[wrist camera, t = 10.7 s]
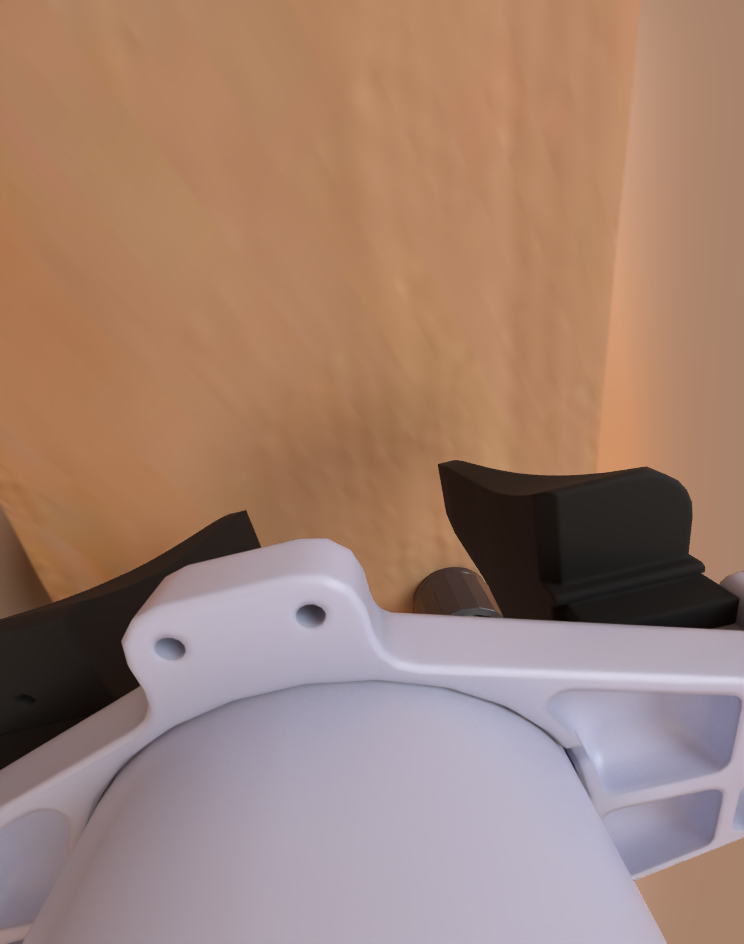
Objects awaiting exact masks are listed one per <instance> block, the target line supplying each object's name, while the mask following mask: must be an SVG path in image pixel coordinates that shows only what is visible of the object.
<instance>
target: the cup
mask: <svg viewBox="0 0 744 944" xmlns="http://www.w3.org/2000/svg"><path fill="white" fill-rule="evenodd" d="M413 606H414V611H415V614H433V615H452V616H468V615H475V614H476V616H478V617H491V618H503V615H502V613H501V611H500V609H499V607H498V605H497V603H496V601H495V599H494V597H493V595H492V593H491V591H490V589H489V588H488V586H487V585H486V583H485V582H484V580H483V579H482V578H481V577H480V576H479V575H478V574H476V573H475V572H473V571H471V570H469V569H465V568H459V567H452V568H445V569H442V570H439V571H437V572H434V573H433V574H431V575H430V576H428V577H427V578H426V579H425V580H423V582H422V583H421V584H420V585H419V587H418V588H417V590H416V592H415V596H414V601H413Z"/></svg>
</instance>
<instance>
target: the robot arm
mask: <svg viewBox="0 0 744 944" xmlns="http://www.w3.org/2000/svg"><path fill="white" fill-rule="evenodd" d="M438 468H439V474H440V480H441V485H442V491H443V497H444V503H445V508H446V514H447V516H448V518H449V521H450V523H451V525H452V527H453V530H454V532H455V534H456V535H457V537H458V539H459V540H460V542H461V543H462V545H463V546H464V548H465V550H466V551H467V553H468V554H469V556H470V557H471V559H472V560H473V562H474V564H475V565H476V567H477V568H478V570H479V571H480V573H481V574H482V576H483V578H484V579H485V581H486V583H487V585H488V586H489V588H490V591H491V593H492V595H493V597H494V599H495V601H496V603H497V605H498V607H499V609H500V611H501V613H502V615H503V618H491V617H472V616H452V615H433V614H414V613H395V612H388V611H386V610H384V609H382V608H380V607H379V606H378V605H377V604H376V603H375V602H374V599H373V597H372V595H371V593H370V590H369V587H368V583H367V580H366V576H365V573H364V569H363V568H362V566H361V565H360V563H359V562H358V560H357V559H356V557H355V556H354V554H353V553H352V551H351V550H350V549H348V548H346V547H344V546H341V545H339V544H337V543H335V542H333V541H331V540H329V539H327V538H313V539H296V540H291V541H287V542H283V543H279V544H275V545H270V546H266V547H262V548H261V546H260V543H259V541H258V538H257V536H256V533H255V531H254V528H253V526H252V523H251V521H250V519H249V516H248V514H247V511H246V510H245V511H241V512H237V513H232V514H229V515H226V516H224V517H222V518H220V519H218V520H217V521H215V522H213V523H212V524H210V525H208V526H207V527H205V528H204V529H202V530H201V531H199V532H198V533H196V534H194V535H193V536H191V537H190V538H188V539H187V540H185V541H183V542H182V543H180V544H178V545H177V546H175V547H174V548H172V549H170V550H169V551H167V552H165V553H164V554H162V555H160V556H158V557H157V558H155V559H153V560H151V561H149V562H148V563H146V564H144V565H142V566H140V567H138V568H136V569H134V570H132V571H130V572H128V573H126V574H123V575H121V576H119V577H117V578H114V579H112V580H110V581H108V582H105V583H103V584H101V585H99V586H96V587H94V588H91V589H89V590H86V591H84V592H81V593H79V594H76V595H73V596H71V597H68V598H65V599H62V600H60V601H57V602H54V603H51V604H48V605H45V606H42V607H39V608H36V609H33V610H29V611H26V612H23V613H20V614H16V615H13V616H10V617H7V618H3V619H0V944H667V942H666V941H665V939H664V937H663V935H662V933H661V931H660V929H659V928H658V926H657V924H656V922H655V920H654V918H653V916H652V914H651V913H650V911H649V909H648V907H647V905H646V903H645V901H644V899H643V897H642V896H641V894H640V892H639V890H638V888H637V886H636V884H635V882H634V881H635V880H637V879H640V878H642V877H645V876H647V875H650V874H652V873H655V872H657V871H660V870H662V869H665V868H667V867H670V866H673V865H675V864H678V863H680V862H683V861H685V860H688V859H690V858H693V857H695V856H698V855H700V854H703V853H705V852H708V851H711V850H713V849H715V848H718V847H721V846H723V845H725V844H728V843H731V842H733V841H736V840H738V839H741V838H743V837H744V571H741V572H737V573H733V574H731V575H729V576H727V577H725V578H724V579H723V580H722V581H721V582H720V584H719V585H718V584H717V583H715V582H714V581H712V580H711V579H709V578H708V577H706V576H704V575H703V574H701V573H702V572H705V566H704V564H703V563H702V562H701V561H699V560H698V559H696V558H694V557H693V556H691V555H689V554H688V553H689V544H690V535H691V525H692V501H691V499H690V496H689V494H688V492H687V490H686V489H685V488H684V486H682V484H681V483H680V482H679V481H678V480H676V479H674V478H672V477H670V476H668V475H665V474H663V473H660V472H658V471H656V470H654V469H651V468H649V467H640V468H633V469H627V470H620V471H614V472H607V473H597V474H585V475H568V476H546V475H530V474H520V473H512V472H507V471H501V470H496V469H492V468H487V467H483V466H479V465H476V464H472V463H468V462H464V461H459V460H453V461H449V462H445V463H441V464H438Z"/></svg>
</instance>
